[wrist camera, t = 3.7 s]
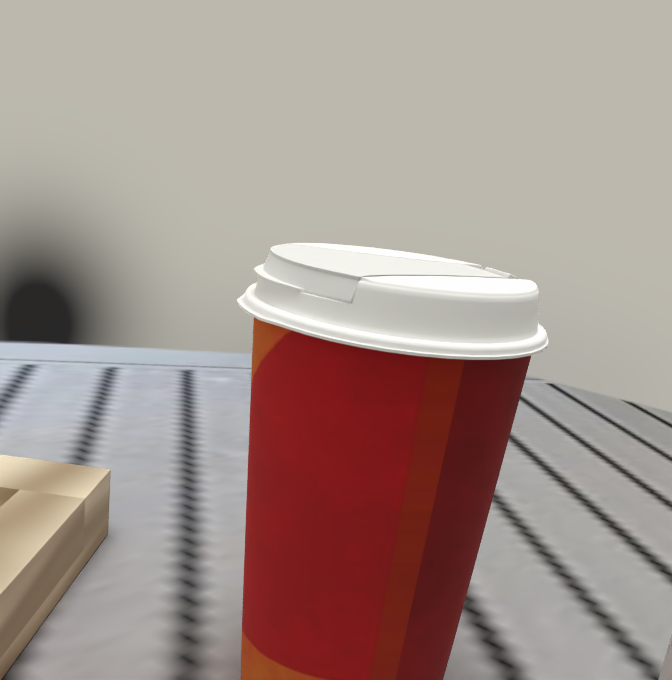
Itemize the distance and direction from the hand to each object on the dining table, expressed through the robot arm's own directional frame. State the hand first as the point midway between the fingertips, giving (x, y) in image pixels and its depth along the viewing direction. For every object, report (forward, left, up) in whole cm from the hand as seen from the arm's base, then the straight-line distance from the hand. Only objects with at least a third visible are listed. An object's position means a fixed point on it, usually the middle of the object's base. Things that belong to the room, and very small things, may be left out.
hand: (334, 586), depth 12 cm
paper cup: (-1, -5, -9) cm, 10 cm away
